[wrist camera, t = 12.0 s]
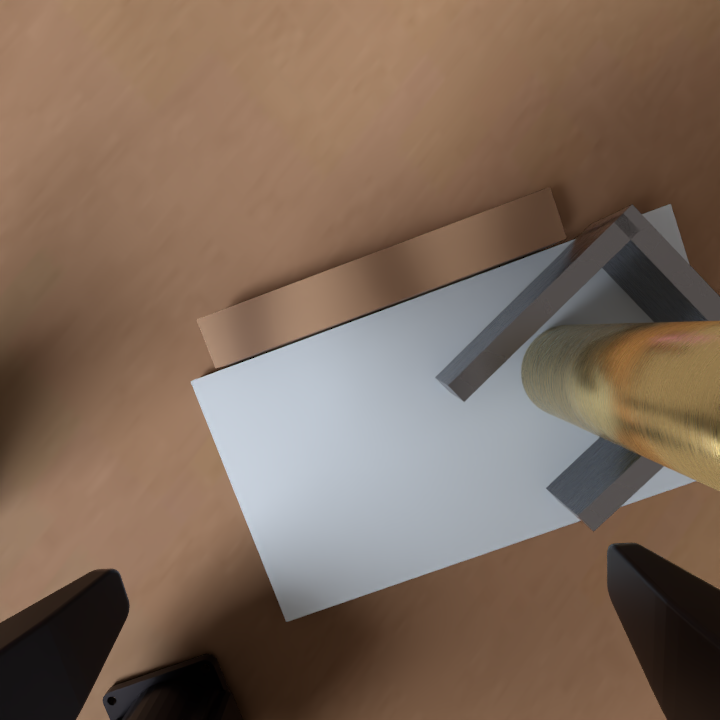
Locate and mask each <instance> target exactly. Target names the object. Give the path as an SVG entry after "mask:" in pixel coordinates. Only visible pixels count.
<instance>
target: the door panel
mask: <svg viewBox="0 0 720 720" xmlns="http://www.w3.org/2000/svg"><path fill="white" fill-rule="evenodd" d="M642 215H643V216H644V217H645V218H646V219H647V220H648V221H649V222H650V223H651V225H652V226H653V227H654V228H655V229H656V230H657V231H658V232H659V233H660V234H661V235H662V236H663V237H664V238H665V239H666V240H667V241H668V242H669V244H670V245H671V246H672V247H673V248H674V249H675V250H676V251H677V252H678V253H679V254H680V255H681V256H682V257H683V258H684V259H685V260H686V262H687V263H688V264H689V261H688V258H687V255H686V252H685V248H684V245H683V242H682V239H681V235H680V232H679V229H678V226H677V223H676V219H675V216H674V213H673V210H672V206H671V204H669V205H666V206H663V207H660V208H658V209H655V210H652V211H650V212H647V213H644V214H642ZM574 240H575V239H574ZM574 240H571V241H569V242H566V243H563V244H560V245H558V246H555V247H552V248H550V249H547V250H544V251H542V252H539V253H536V254H533V255H531V256H528V257H525V258H523V259H520V260H517V261H514V262H512V263H509V264H506V265H504V266H501V267H498V268H496V269H493V270H490V271H487V272H485V273H482V274H479V275H477V276H474V277H471V278H469V279H466V280H463V281H460V282H458V283H455V284H452V285H450V286H447V287H444V288H441V289H439V290H436V291H433V292H431V293H428V294H425V295H423V296H420V297H417V298H414V299H412V300H409V301H406V302H404V303H401V304H398V305H396V306H393V307H390V308H387V309H385V310H382V311H379V312H377V313H374V314H371V315H368V316H366V317H363V318H360V319H358V320H355V321H352V322H350V323H347V324H344V325H341V326H339V327H336V328H333V329H331V330H328V331H325V332H323V333H320V334H317V335H314V336H312V337H309V338H306V339H304V340H301V341H298V342H295V343H293V344H290V345H287V346H285V347H282V348H279V349H277V350H274V351H271V352H268V353H266V354H263V355H260V356H258V357H255V358H252V359H250V360H247V361H244V362H241V363H239V364H236V365H233V366H231V367H228V368H225V369H223V370H220V371H217V372H214V373H212V374H209V375H206V376H204V377H201V378H198V379H195V380H193V381H191V384H192V386H193V389H194V391H195V394H196V396H197V399H198V401H199V404H200V406H201V409H202V411H203V414H204V416H205V419H206V421H207V424H208V426H209V429H210V431H211V434H212V436H213V439H214V441H215V444H216V446H217V449H218V451H219V454H220V457H221V459H222V462H223V464H224V467H225V469H226V472H227V474H228V477H229V479H230V482H231V484H232V487H233V489H234V492H235V494H236V497H237V499H238V502H239V504H240V507H241V509H242V512H243V514H244V517H245V519H246V522H247V524H248V527H249V529H250V532H251V534H252V537H253V540H254V542H255V545H256V547H257V550H258V552H259V555H260V557H261V560H262V562H263V565H264V567H265V570H266V572H267V575H268V577H269V580H270V582H271V585H272V587H273V590H274V592H275V595H276V597H277V600H278V602H279V605H280V607H281V610H282V612H283V615H284V618H285V620H286V622H288V621H291V620H294V619H297V618H300V617H303V616H306V615H309V614H312V613H314V612H317V611H320V610H323V609H326V608H329V607H332V606H335V605H338V604H341V603H343V602H346V601H349V600H352V599H355V598H358V597H361V596H364V595H367V594H370V593H372V592H375V591H378V590H381V589H384V588H387V587H390V586H393V585H396V584H399V583H401V582H404V581H407V580H410V579H413V578H416V577H419V576H422V575H425V574H428V573H430V572H433V571H436V570H439V569H442V568H445V567H448V566H451V565H454V564H457V563H459V562H462V561H465V560H468V559H471V558H474V557H477V556H480V555H483V554H486V553H488V552H491V551H494V550H497V549H500V548H503V547H506V546H509V545H512V544H515V543H517V542H520V541H523V540H526V539H529V538H532V537H535V536H538V535H541V534H544V533H546V532H549V531H552V530H555V529H558V528H561V527H564V526H567V525H570V524H573V523H575V522H578V521H581V520H580V519H578V518H577V517H576V516H575V515H574V514H573V513H572V512H570V511H569V510H568V509H567V508H566V507H565V506H563V505H562V504H561V503H560V502H559V501H558V500H557V499H556V498H555V497H554V496H553V495H552V494H551V493H550V492H549V491H548V490H547V489H546V487H547V486H549V485H550V484H551V483H552V482H553V481H554V480H555V479H556V478H557V477H558V476H559V475H560V474H561V473H562V472H563V471H564V470H566V469H567V468H568V467H569V466H570V465H571V464H572V463H573V462H574V461H575V460H576V459H577V458H578V457H579V456H580V455H581V454H582V453H584V452H585V451H586V450H587V449H588V448H589V447H590V446H591V445H592V444H593V443H594V442H595V441H596V440H597V439H598V438H599V436H597V435H595V434H592V433H590V432H588V431H586V430H584V429H581V428H579V427H577V426H575V425H573V424H570V423H568V422H566V421H564V420H562V419H559V418H557V417H555V416H553V415H551V414H548V413H546V412H544V411H542V410H541V409H540V408H538V407H537V406H536V405H535V404H534V403H533V402H532V401H531V400H530V399H529V397H528V396H527V394H526V392H525V390H524V387H523V384H522V379H521V366H522V361H523V358H524V355H525V353H526V351H527V349H528V347H529V346H530V344H531V343H532V342H533V341H534V340H535V339H536V338H537V337H538V336H539V335H540V334H542V333H543V332H545V331H547V330H549V329H551V328H553V327H556V326H561V325H574V324H612V323H650V322H654V321H653V320H652V319H651V318H650V317H649V316H648V315H647V314H646V313H645V312H644V311H643V310H642V309H641V308H640V307H639V306H638V305H637V304H636V303H635V302H634V301H633V300H632V299H631V297H630V296H629V295H628V294H627V293H626V292H625V291H624V290H623V289H622V288H621V287H620V286H619V285H618V284H617V283H616V282H615V281H614V280H613V279H612V278H611V277H610V276H609V275H608V274H607V272H606V271H605V270H604V269H603V268H601V269H600V270H599V271H598V272H597V273H596V274H595V275H594V276H593V277H592V278H591V279H590V280H589V281H588V282H587V283H586V284H585V285H584V286H583V287H582V288H581V289H580V290H579V291H578V292H577V293H576V294H575V295H574V296H573V297H571V298H570V299H569V300H568V301H567V302H566V303H565V304H564V305H563V306H562V307H561V308H560V309H559V310H558V311H557V312H556V313H555V314H554V315H553V316H552V317H551V318H550V319H549V320H548V321H547V322H546V323H545V324H544V325H543V326H542V327H541V328H540V329H539V330H538V331H537V332H536V333H535V334H534V335H533V336H531V337H530V338H529V339H528V340H527V341H526V342H525V343H524V344H523V345H522V346H521V347H520V348H519V349H518V350H517V351H516V352H515V353H514V354H513V355H512V356H511V357H510V358H509V359H508V360H507V361H506V362H505V363H504V364H503V365H502V366H501V367H500V368H499V369H498V370H497V371H496V372H495V373H494V374H492V375H491V376H490V377H489V378H488V379H487V380H486V381H485V382H484V383H483V384H482V385H481V386H480V387H479V388H478V389H477V390H476V391H475V392H474V393H473V394H472V395H471V396H470V397H469V398H468V399H467V400H466V401H465V402H463V401H462V400H460V399H459V398H458V397H456V396H455V395H453V394H452V393H450V392H449V391H448V390H447V389H446V388H445V387H444V386H443V385H442V384H441V383H440V382H439V381H438V380H437V379H436V378H435V377H436V376H437V375H438V374H439V373H440V372H441V371H442V370H443V369H444V368H445V367H446V366H447V365H448V364H449V363H450V362H451V361H452V360H453V359H454V358H455V357H456V356H457V355H458V354H459V353H460V352H461V351H462V350H463V349H464V348H465V347H466V346H467V345H468V344H469V343H470V342H471V341H473V340H474V339H475V338H476V337H477V336H478V335H479V334H480V333H481V332H482V331H483V330H484V329H485V328H486V327H487V326H488V325H489V324H490V323H491V322H492V321H493V320H494V319H495V318H496V317H497V316H498V315H499V314H500V313H501V312H502V311H503V310H504V309H505V308H506V307H507V306H508V305H509V304H510V303H511V302H512V301H513V300H514V299H515V298H516V297H517V296H518V295H519V294H520V293H521V292H522V291H523V290H524V289H525V288H526V287H527V286H528V285H529V284H530V283H531V282H532V281H533V280H534V279H535V278H536V277H537V276H538V275H539V274H540V273H542V272H543V271H544V270H545V269H546V268H547V267H548V266H549V265H550V264H551V263H552V262H553V261H554V260H555V259H556V258H557V257H558V256H559V255H560V254H561V253H562V252H563V251H564V250H565V249H566V248H567V247H568V246H569V245H570V244H571V243H572V242H573V241H574ZM694 481H696V480H693V479H691V478H689V477H687V476H685V475H682V474H680V473H678V472H676V471H674V470H671V469H669V468H667V467H665V466H664V467H663V468H662V469H661V470H660V471H659V472H657V473H656V474H655V475H654V476H653V477H652V478H651V479H650V480H649V481H648V482H647V483H646V484H645V485H643V486H642V487H641V488H640V489H639V490H638V491H637V492H636V493H635V494H634V495H633V496H632V497H630V498H629V499H628V500H627V501H626V502H625V503H624V504H623V505H622V506H625V505H628V504H631V503H633V502H636V501H639V500H642V499H645V498H648V497H651V496H654V495H657V494H660V493H662V492H665V491H668V490H671V489H674V488H677V487H680V486H683V485H686V484H689V483H691V482H694ZM622 506H621V507H622Z"/></svg>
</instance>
